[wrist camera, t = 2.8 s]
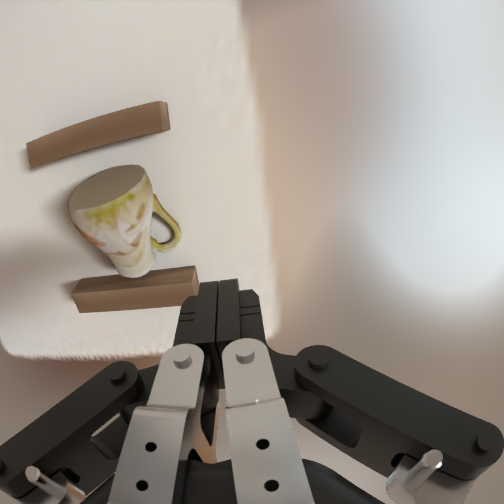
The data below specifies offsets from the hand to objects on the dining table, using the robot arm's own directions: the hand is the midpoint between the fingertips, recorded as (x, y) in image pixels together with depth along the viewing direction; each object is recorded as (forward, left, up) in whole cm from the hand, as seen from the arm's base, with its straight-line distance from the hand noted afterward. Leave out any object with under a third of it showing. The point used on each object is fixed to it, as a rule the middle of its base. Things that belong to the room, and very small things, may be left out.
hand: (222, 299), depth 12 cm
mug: (+1, -9, -16) cm, 18 cm away
